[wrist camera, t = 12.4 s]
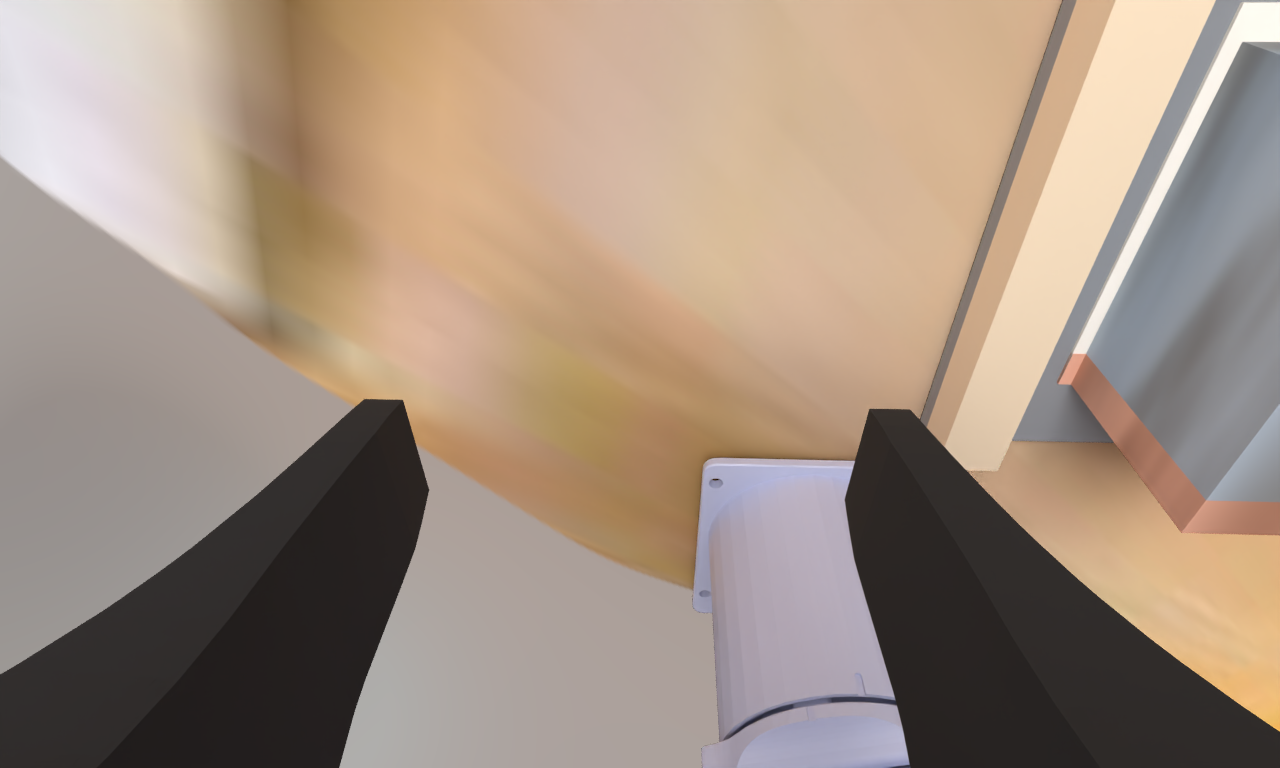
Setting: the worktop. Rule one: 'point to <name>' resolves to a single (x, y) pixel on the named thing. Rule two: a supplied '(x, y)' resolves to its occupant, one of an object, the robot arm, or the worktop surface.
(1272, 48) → the painted block
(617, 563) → the worktop surface
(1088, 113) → the tray
